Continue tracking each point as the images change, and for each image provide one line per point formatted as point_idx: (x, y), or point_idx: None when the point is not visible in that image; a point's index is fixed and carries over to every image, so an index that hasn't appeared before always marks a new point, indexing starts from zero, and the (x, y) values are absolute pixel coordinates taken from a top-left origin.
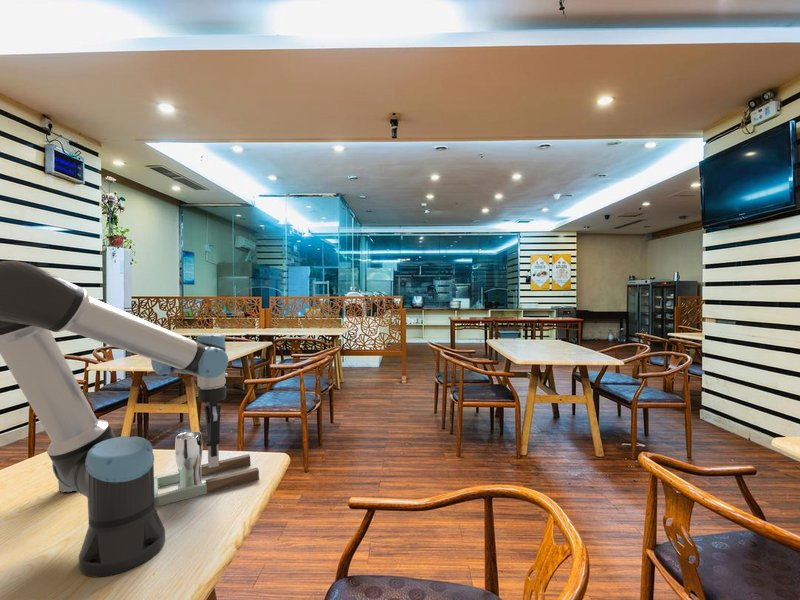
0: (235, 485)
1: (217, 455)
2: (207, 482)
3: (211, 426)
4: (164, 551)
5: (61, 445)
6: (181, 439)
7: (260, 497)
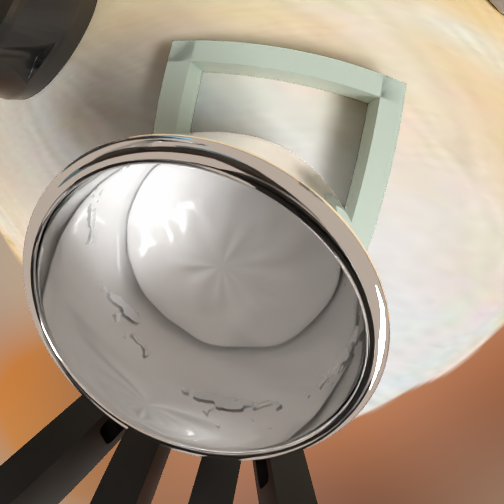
0: None
1: None
2: None
3: (10, 463)
4: (8, 102)
5: None
6: (33, 216)
7: None
